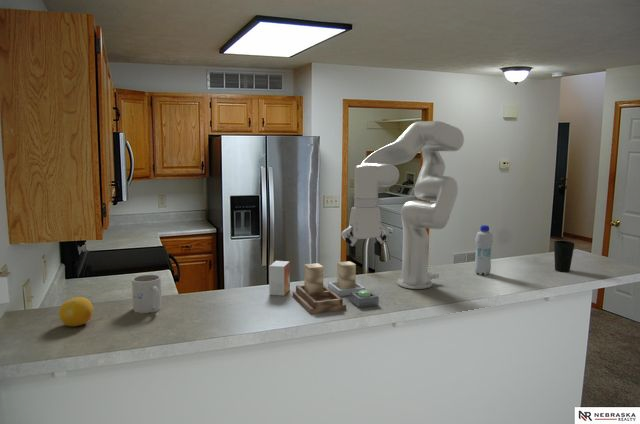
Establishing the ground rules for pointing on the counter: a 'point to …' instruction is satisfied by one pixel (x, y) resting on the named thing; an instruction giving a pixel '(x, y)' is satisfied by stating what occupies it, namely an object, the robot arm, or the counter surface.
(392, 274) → the counter surface
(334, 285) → the grey square frame
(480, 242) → the bottle
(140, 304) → the mug
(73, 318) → the fruit
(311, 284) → the block
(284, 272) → the small box
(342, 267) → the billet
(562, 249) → the cup
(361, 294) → the button
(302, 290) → the brown wooden tray
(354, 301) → the switch box
